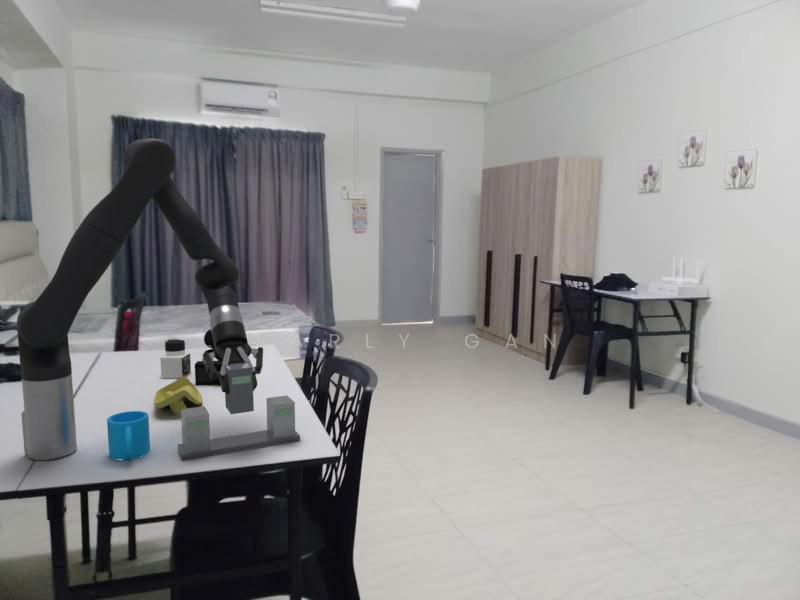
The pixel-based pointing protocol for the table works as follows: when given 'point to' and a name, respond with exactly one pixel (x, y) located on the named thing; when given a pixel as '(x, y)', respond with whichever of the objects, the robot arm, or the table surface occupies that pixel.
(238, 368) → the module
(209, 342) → the webcam
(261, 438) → the rail
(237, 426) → the table surface
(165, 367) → the medicine bottle
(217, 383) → the digital camera
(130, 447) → the mug
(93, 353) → the table surface
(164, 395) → the plastic component
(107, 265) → the robot arm
